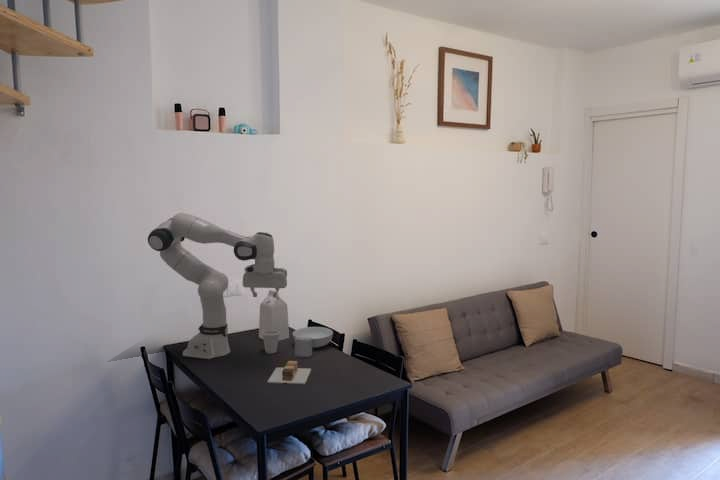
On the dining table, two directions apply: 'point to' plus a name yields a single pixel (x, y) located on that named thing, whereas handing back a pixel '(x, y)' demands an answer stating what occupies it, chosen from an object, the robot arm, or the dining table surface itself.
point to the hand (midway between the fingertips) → (265, 297)
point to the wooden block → (289, 370)
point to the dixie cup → (271, 340)
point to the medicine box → (303, 347)
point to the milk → (274, 316)
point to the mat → (298, 378)
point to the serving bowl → (315, 335)
